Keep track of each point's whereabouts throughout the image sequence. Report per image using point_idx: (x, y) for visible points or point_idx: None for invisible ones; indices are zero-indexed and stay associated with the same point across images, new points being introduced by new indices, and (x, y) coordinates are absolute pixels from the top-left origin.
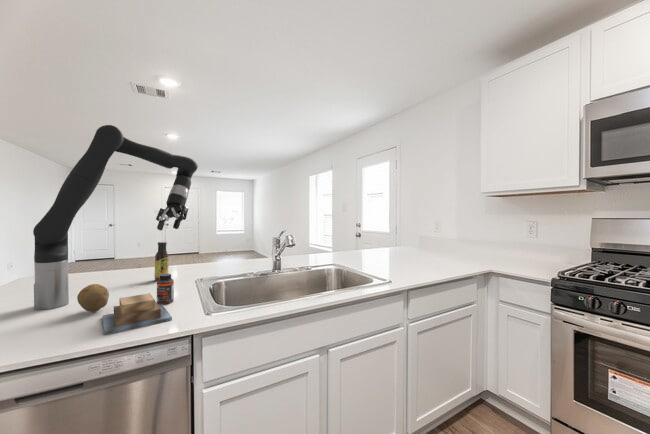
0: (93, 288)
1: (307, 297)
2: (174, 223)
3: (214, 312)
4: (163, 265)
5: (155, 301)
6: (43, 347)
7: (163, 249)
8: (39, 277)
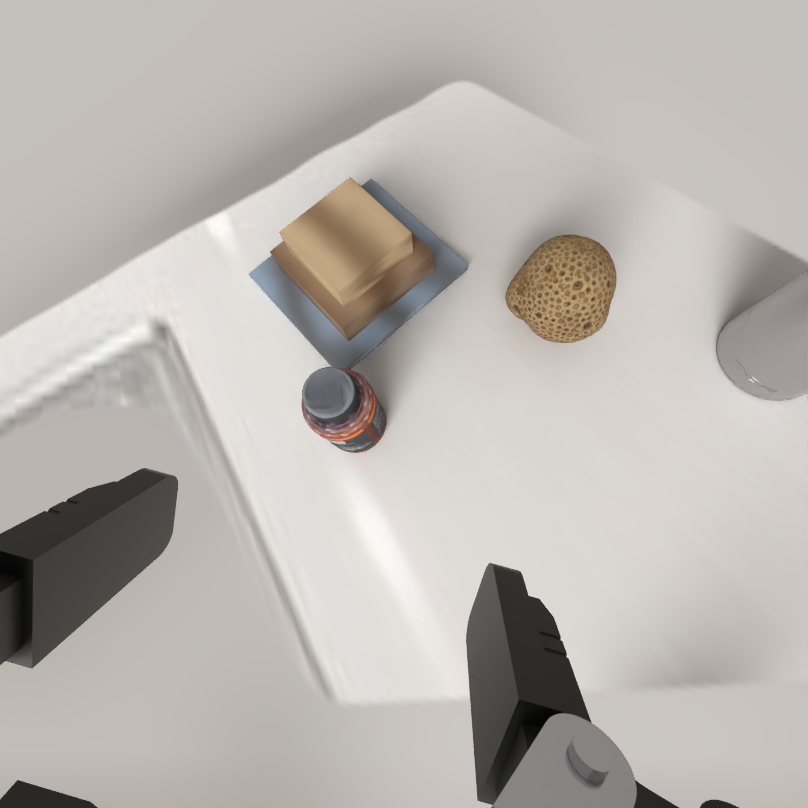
0: (554, 245)
1: None
2: (109, 499)
3: (145, 344)
4: None
5: (324, 309)
6: (458, 127)
7: None
8: None
